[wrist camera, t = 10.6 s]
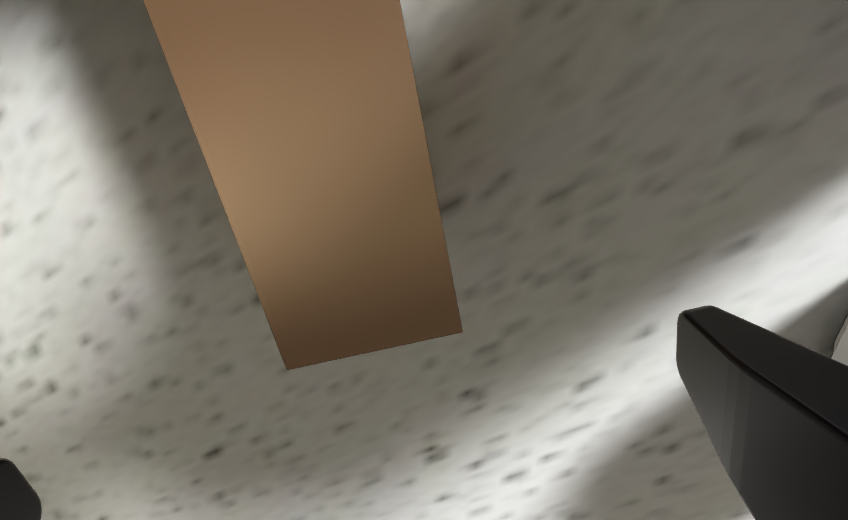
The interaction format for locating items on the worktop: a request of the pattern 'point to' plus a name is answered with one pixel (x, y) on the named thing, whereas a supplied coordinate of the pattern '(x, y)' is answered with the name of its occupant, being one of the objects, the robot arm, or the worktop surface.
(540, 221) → the worktop surface
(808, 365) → the robot arm
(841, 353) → the can
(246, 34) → the brown rectangular bar
